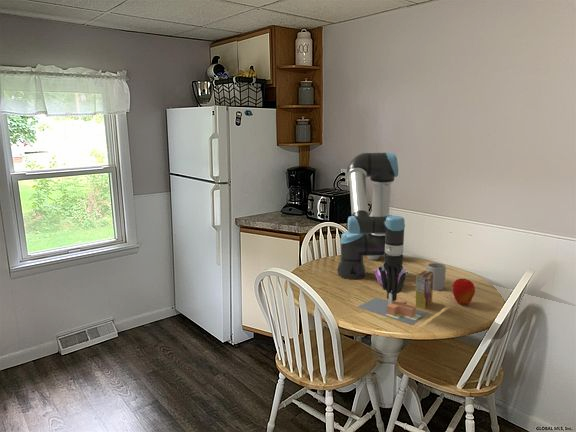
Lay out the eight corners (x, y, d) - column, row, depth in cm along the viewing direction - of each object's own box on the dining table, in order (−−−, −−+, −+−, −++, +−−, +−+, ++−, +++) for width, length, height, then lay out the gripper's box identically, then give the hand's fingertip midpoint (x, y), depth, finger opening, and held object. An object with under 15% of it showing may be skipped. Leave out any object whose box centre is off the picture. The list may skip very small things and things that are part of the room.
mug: (447, 290, 214) (448, 268, 211) (429, 290, 213) (431, 268, 211) (438, 281, 225) (439, 260, 223) (421, 281, 225) (422, 261, 223)
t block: (386, 313, 186) (386, 305, 185) (398, 306, 193) (399, 298, 192) (407, 320, 179) (407, 312, 179) (419, 312, 186) (419, 304, 186)
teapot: (375, 292, 212) (376, 272, 210) (367, 282, 225) (368, 264, 223) (412, 290, 214) (413, 270, 212) (402, 280, 227) (402, 262, 225)
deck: (357, 309, 193) (357, 307, 193) (375, 299, 204) (375, 297, 203) (412, 327, 175) (412, 325, 175) (429, 315, 186) (429, 313, 186)
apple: (478, 305, 195) (480, 279, 193) (461, 308, 192) (463, 282, 190) (463, 298, 204) (465, 273, 201) (447, 300, 201) (448, 275, 199)
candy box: (423, 302, 200) (424, 269, 196) (432, 304, 197) (434, 271, 194) (414, 308, 193) (416, 275, 190) (423, 311, 190) (425, 277, 187)
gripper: (375, 252, 186) (373, 305, 191) (403, 258, 178) (400, 314, 182) (384, 248, 192) (382, 300, 196) (412, 254, 183) (409, 308, 188)
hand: (391, 306), depth 189 cm, fingers closed
